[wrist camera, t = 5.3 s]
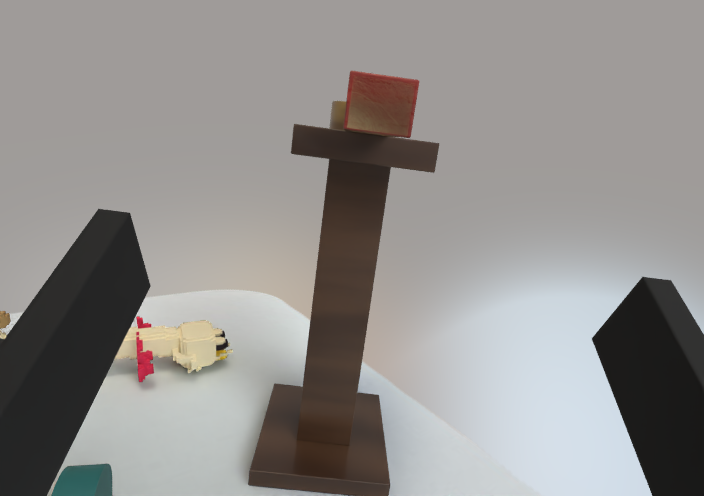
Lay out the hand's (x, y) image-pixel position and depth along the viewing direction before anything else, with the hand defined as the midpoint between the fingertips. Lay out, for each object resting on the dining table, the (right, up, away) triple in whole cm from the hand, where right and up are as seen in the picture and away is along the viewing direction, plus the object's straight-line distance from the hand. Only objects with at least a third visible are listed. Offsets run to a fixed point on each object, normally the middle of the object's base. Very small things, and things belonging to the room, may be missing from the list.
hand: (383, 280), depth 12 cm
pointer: (0, +9, +21) cm, 23 cm away
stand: (-4, -18, +34) cm, 39 cm away
